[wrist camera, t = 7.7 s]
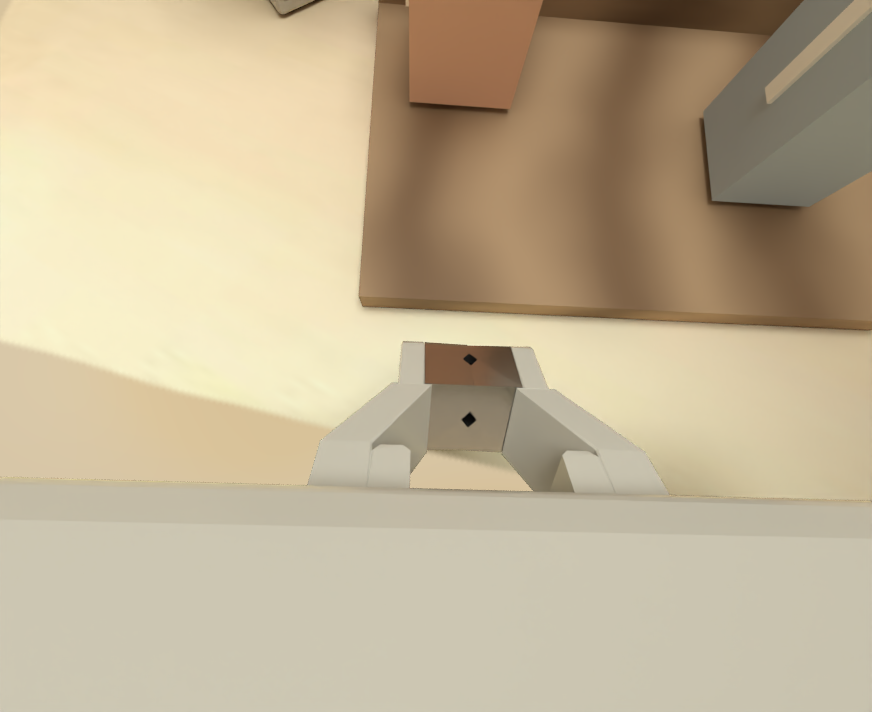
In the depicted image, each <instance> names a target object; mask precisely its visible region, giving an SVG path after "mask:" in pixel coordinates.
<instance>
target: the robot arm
mask: <svg viewBox="0 0 872 712" xmlns="http://www.w3.org/2000/svg"><path fill="white" fill-rule="evenodd" d="M427 450H471V451H488V452H502V455H503V456H504V457H505V458H506V460H507V461H508V462H509V463H510V464H511V465H512V467H513V468H514V469H515V470H516V471H517V472H518V474H519V475H520V476H521V477H522V478H523V479H524V481H525V482H526V483H527V484H528V485H529V487H530V488H531V489H532V490H533V491H497V490H458V489H454V490H453V489H421V488H420V489H419V488H410V474H411V473H412V471H413V470H414V469H415V467H416V466H417V464H418V463H419V462H420V460H421V459H422V458H423V456H424V455H425V454H426V452H427ZM0 712H872V501H863V500H827V499H790V498H748V497H713V496H678V495H670V494H669V493H668V491H667V489H666V487H665V486H664V484H663V482H662V480H661V479H660V477H659V475H658V473H657V472H656V470H655V468H654V466H653V465H652V463H651V461H650V459H649V458H648V456H647V454H646V453H645V451H643V450H642V449H640V448H639V447H637V446H636V445H634V444H633V443H632V442H630V441H629V440H627V439H626V438H624V437H623V436H621V435H620V434H619V433H617V432H616V431H614V430H613V429H611V428H610V427H609V426H607V425H606V424H604V423H603V422H601V421H600V420H598V419H597V418H596V417H594V416H593V415H591V414H590V413H588V412H587V411H585V410H584V409H583V408H581V407H580V406H578V405H577V404H575V403H574V402H572V401H571V400H570V399H568V398H567V397H565V396H564V395H562V394H561V393H559V392H558V391H557V390H555V389H549V388H548V386H547V383H546V381H545V378H544V376H543V373H542V371H541V368H540V366H539V363H538V361H537V358H536V356H535V353H534V351H533V349H532V348H531V347H500V346H467V345H458V344H442V343H427V342H425V344H424V342H409V341H403V342H402V344H401V355H400V366H399V378H398V383H391V384H390V385H388V386H387V387H386V388H385V389H383V390H382V391H381V392H380V393H378V394H377V395H376V396H375V397H373V398H372V399H371V400H370V401H368V402H367V403H366V404H365V405H364V406H362V407H361V408H360V409H359V410H357V411H356V412H355V413H354V414H352V415H351V416H350V417H349V418H347V419H346V420H345V421H344V422H342V423H341V424H340V425H339V426H338V427H336V428H335V429H334V430H333V431H331V432H330V433H329V434H328V435H326V436H325V437H324V438H323V439H321V440H320V443H319V447H318V450H317V454H316V457H315V460H314V464H313V467H312V471H311V474H310V478H309V481H308V484H307V485H279V484H276V485H275V484H242V483H206V482H170V481H136V480H100V479H99V480H98V479H64V478H63V479H62V478H60V479H59V478H28V477H27V478H26V477H0Z"/></svg>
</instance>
